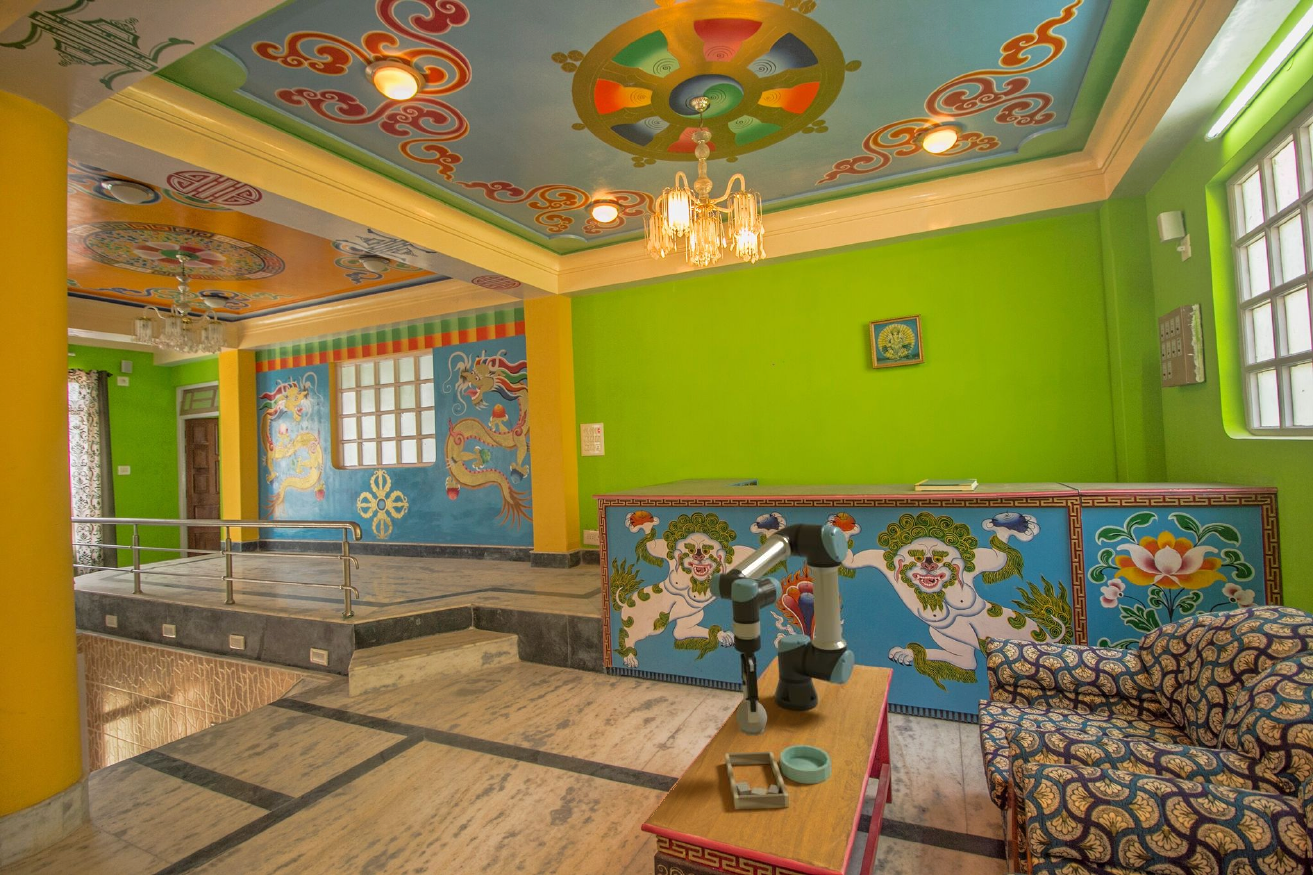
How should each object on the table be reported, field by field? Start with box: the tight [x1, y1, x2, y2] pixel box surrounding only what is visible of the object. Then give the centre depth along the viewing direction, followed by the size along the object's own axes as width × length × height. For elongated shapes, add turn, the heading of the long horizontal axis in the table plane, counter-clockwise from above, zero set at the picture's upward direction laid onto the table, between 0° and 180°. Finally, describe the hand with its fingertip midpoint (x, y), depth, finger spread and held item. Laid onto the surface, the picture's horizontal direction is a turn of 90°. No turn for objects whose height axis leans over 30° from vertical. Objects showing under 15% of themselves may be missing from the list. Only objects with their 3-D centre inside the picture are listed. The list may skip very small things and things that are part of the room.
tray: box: [724, 750, 790, 810], centre depth 167 cm, size 22×14×3 cm, turn 0°
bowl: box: [779, 744, 832, 785], centre depth 173 cm, size 14×14×4 cm
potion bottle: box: [735, 670, 768, 736], centre depth 172 cm, size 9×9×18 cm
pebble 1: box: [751, 786, 768, 795], centre depth 160 cm, size 4×3×2 cm
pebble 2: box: [767, 784, 781, 794], centre depth 161 cm, size 4×2×2 cm
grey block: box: [735, 781, 752, 795], centre depth 163 cm, size 4×3×2 cm
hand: (750, 714), depth 172 cm, fingers closed on potion bottle, 8 cm apart
